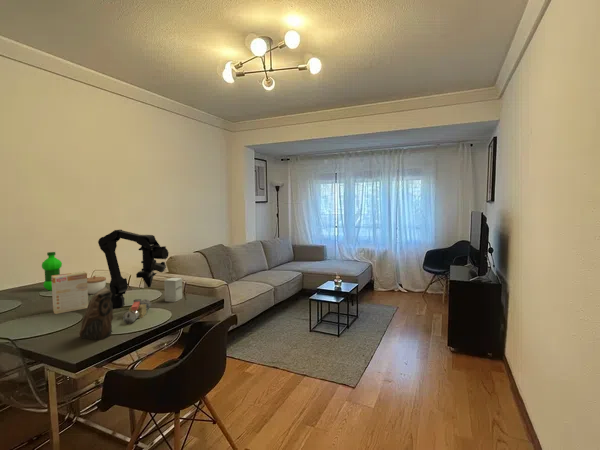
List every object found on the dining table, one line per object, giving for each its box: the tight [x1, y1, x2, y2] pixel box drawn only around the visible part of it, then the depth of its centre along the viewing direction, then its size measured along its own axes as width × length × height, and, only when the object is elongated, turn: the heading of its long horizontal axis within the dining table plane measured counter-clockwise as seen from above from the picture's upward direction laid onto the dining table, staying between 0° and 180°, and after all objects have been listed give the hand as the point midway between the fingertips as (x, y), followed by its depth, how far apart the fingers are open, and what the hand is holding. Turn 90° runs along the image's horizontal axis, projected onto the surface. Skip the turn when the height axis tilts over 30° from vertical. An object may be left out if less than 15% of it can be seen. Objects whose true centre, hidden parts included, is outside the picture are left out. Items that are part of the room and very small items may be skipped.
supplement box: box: [163, 277, 183, 303], centre depth 191 cm, size 7×7×13 cm
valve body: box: [122, 298, 152, 325], centre depth 164 cm, size 6×21×6 cm, turn 6°
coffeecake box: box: [51, 271, 89, 315], centre depth 173 cm, size 15×7×20 cm, turn 135°
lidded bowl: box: [87, 275, 107, 295], centre depth 207 cm, size 13×13×11 cm
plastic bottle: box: [41, 251, 63, 292], centre depth 214 cm, size 10×10×25 cm
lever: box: [130, 298, 142, 311], centre depth 159 cm, size 12×4×2 cm, turn 19°
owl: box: [79, 285, 114, 341], centre depth 139 cm, size 13×13×20 cm
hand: (149, 287), depth 174 cm, fingers closed
